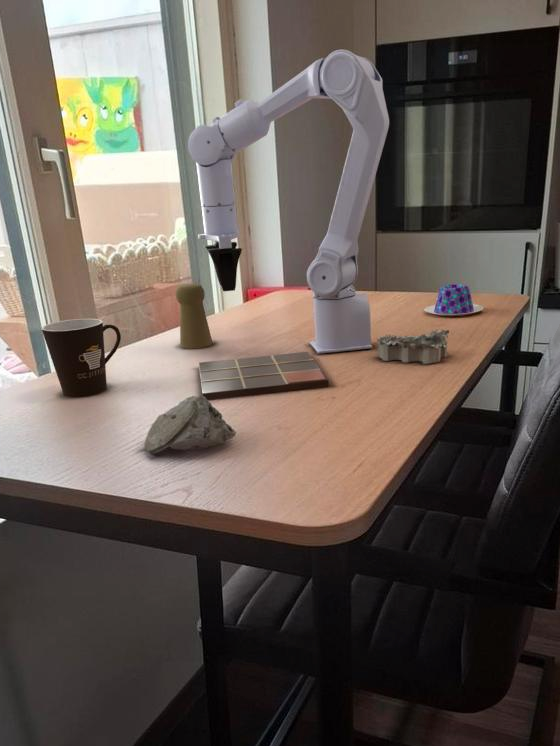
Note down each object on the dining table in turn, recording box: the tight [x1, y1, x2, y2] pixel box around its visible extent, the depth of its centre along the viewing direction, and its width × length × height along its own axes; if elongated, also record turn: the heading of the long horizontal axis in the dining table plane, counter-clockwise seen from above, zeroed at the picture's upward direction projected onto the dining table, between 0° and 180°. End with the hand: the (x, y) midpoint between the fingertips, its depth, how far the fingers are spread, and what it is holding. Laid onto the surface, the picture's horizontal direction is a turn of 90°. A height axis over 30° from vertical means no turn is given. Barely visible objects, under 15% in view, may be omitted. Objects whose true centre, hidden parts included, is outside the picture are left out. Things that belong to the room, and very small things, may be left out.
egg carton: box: [376, 329, 450, 365], centre depth 112 cm, size 11×8×4 cm
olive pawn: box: [175, 283, 213, 350], centre depth 128 cm, size 6×6×11 cm
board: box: [198, 351, 330, 401], centre depth 107 cm, size 18×18×1 cm
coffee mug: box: [40, 318, 122, 398], centre depth 105 cm, size 12×9×10 cm
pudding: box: [424, 283, 484, 317], centre depth 143 cm, size 12×12×5 cm
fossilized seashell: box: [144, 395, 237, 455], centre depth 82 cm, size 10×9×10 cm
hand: (227, 287), depth 124 cm, fingers open, 7 cm apart
